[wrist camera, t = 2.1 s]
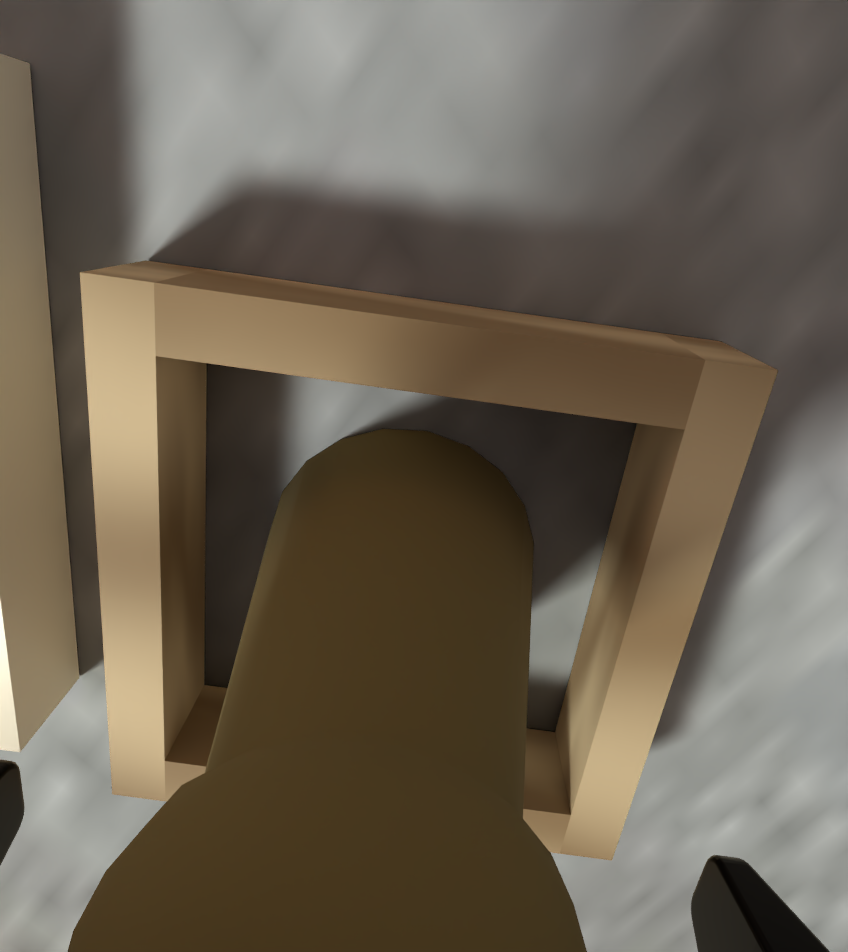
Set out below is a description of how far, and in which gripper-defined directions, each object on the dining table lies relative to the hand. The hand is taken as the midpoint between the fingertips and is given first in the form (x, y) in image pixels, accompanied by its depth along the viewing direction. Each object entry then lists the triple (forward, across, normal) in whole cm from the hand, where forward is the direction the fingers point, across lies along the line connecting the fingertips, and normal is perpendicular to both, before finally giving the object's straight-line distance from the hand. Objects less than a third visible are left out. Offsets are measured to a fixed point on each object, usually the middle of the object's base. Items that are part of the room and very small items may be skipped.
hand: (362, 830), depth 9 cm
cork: (+7, 0, 0) cm, 7 cm away
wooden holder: (+7, 0, 0) cm, 7 cm away
